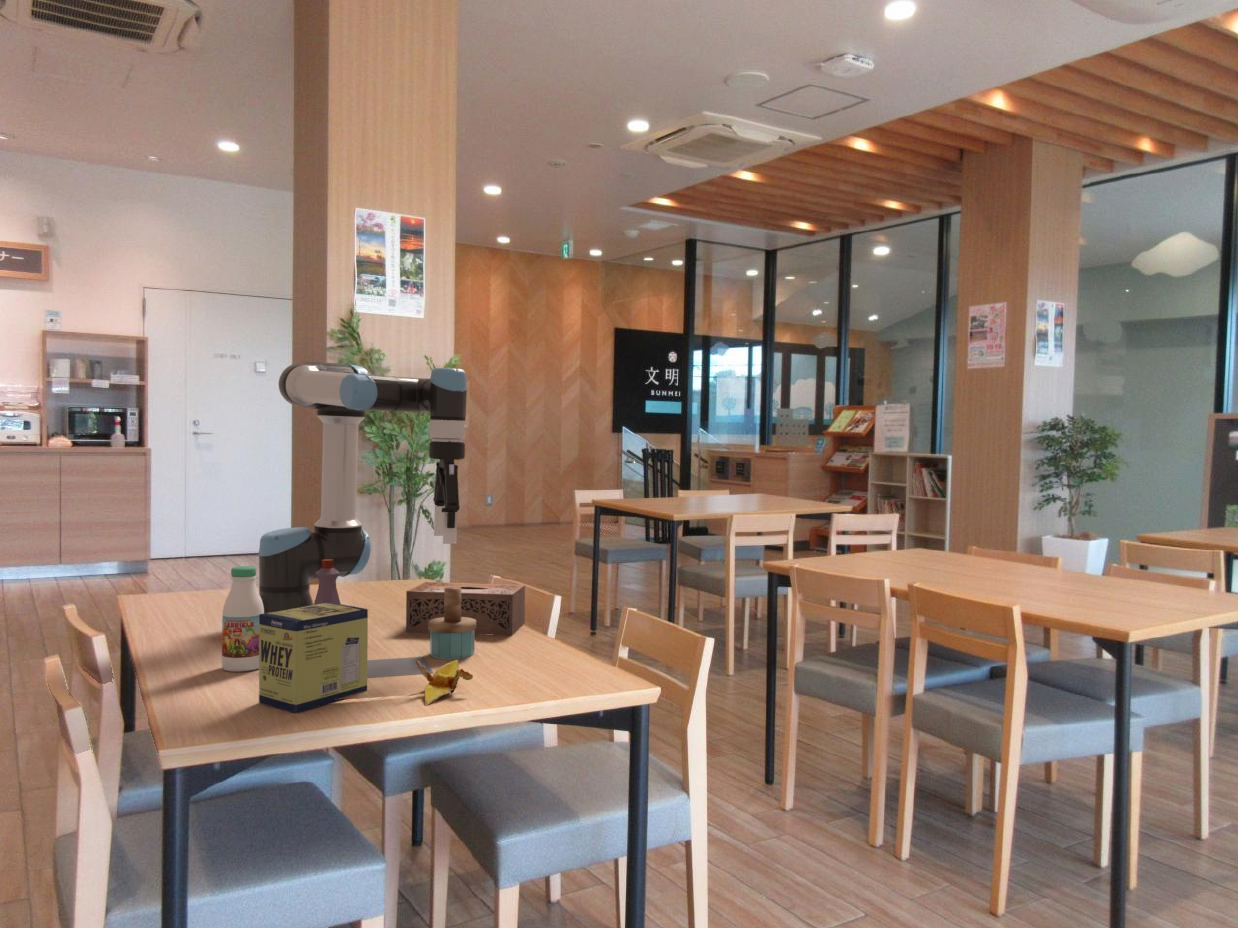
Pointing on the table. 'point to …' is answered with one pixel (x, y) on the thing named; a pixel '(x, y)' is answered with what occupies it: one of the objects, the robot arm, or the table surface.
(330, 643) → the protein box
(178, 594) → the table surface
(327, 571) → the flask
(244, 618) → the milk bottle
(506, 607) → the tissue box cover
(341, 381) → the robot arm
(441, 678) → the origami crane
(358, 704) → the table surface
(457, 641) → the teal short cylinder
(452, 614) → the lid
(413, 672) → the mat
